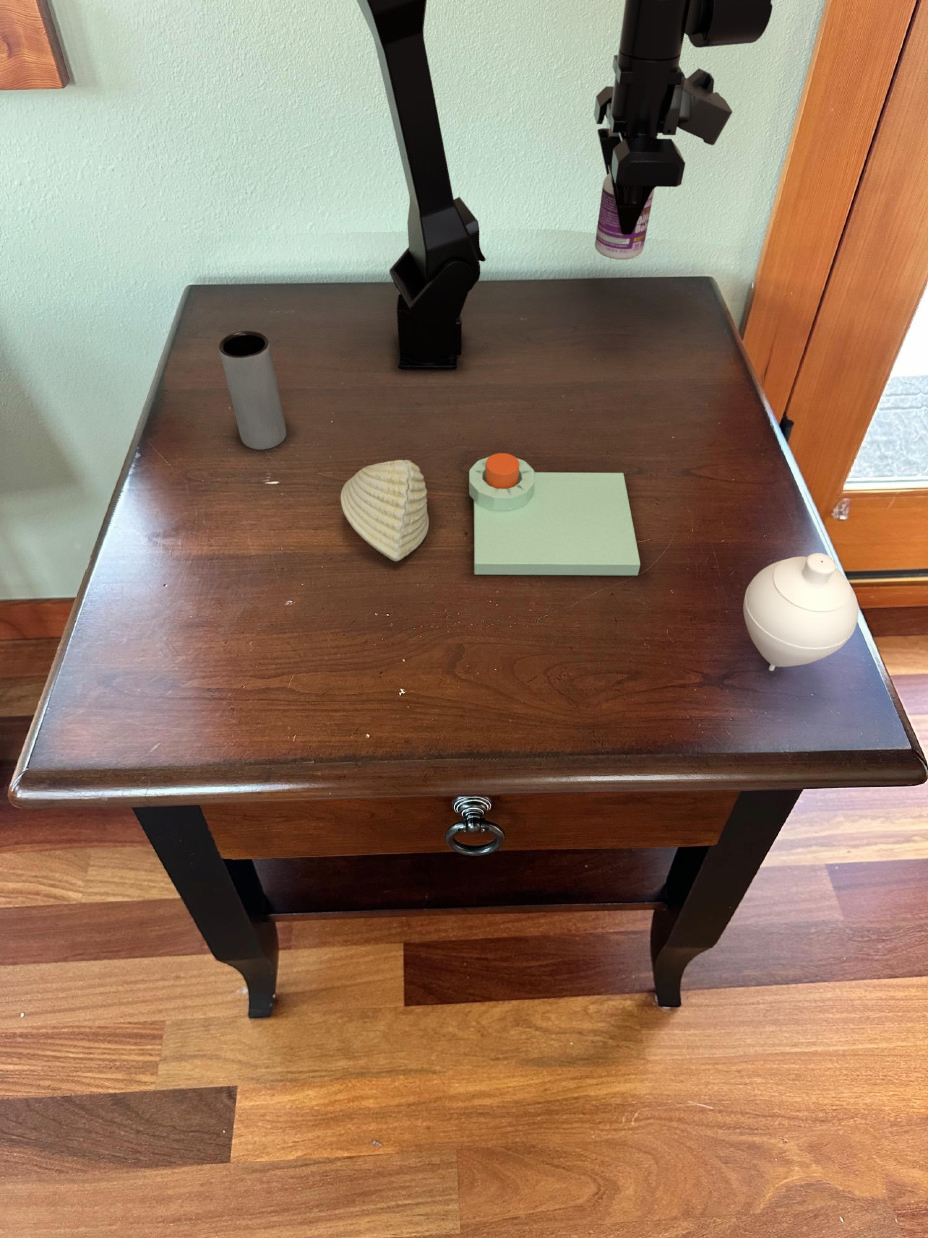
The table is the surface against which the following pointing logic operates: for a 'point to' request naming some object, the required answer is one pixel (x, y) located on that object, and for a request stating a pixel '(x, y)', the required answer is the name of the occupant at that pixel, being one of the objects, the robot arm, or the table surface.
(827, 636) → the spinning top
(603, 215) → the pill bottle
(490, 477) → the button
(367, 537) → the seashell
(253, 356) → the grey cylindrical tube
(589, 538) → the pale green base plate
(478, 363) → the table surface
